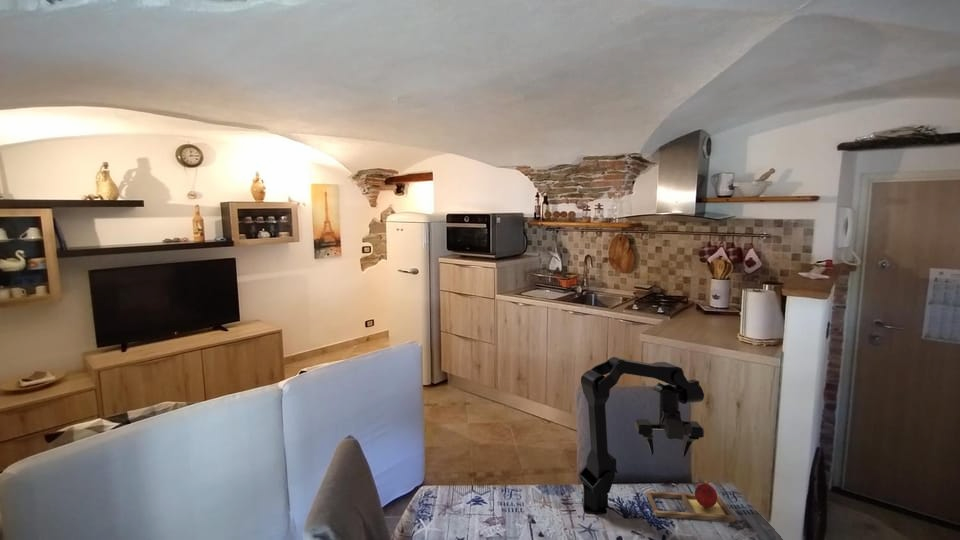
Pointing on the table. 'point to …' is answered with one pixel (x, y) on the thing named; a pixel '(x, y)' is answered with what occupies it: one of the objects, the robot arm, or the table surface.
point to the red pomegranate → (706, 495)
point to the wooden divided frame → (692, 507)
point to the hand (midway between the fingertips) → (667, 455)
